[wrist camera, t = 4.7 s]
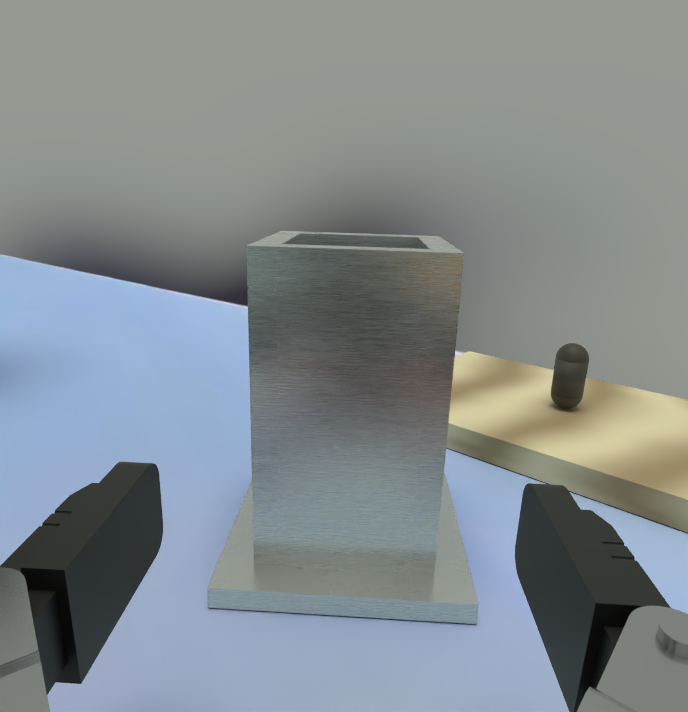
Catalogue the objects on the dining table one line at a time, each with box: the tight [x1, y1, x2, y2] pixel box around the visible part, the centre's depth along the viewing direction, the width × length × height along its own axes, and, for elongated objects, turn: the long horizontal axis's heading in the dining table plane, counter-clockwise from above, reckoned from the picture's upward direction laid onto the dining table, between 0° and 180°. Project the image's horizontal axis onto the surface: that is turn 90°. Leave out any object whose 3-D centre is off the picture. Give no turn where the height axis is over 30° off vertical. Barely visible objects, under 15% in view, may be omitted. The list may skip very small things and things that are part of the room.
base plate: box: [446, 343, 688, 533], centre depth 32 cm, size 20×14×6 cm
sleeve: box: [207, 231, 478, 624], centre depth 21 cm, size 9×9×12 cm
